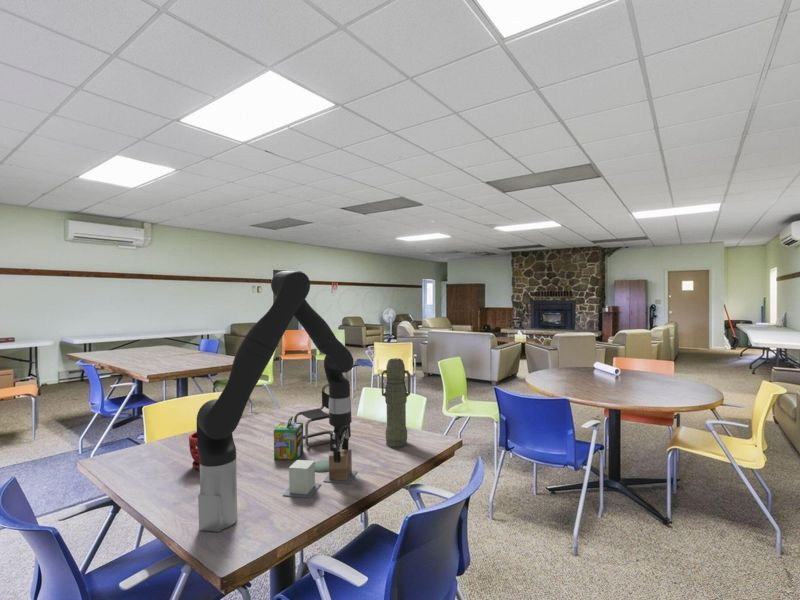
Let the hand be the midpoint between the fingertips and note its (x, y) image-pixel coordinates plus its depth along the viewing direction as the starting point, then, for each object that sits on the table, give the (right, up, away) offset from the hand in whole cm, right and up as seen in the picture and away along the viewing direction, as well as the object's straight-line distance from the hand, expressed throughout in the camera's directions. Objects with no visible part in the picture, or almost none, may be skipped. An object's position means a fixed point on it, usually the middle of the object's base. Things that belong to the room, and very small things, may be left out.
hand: (341, 456), depth 141 cm
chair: (-15, -7, +36) cm, 40 cm away
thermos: (+19, -6, +30) cm, 36 cm away
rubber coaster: (-8, -7, +9) cm, 13 cm away
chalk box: (-23, -7, +20) cm, 31 cm away
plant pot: (-50, -8, +11) cm, 52 cm away
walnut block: (0, -7, 0) cm, 7 cm away
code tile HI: (-11, -7, -9) cm, 16 cm away
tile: (0, -7, 0) cm, 7 cm away
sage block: (-11, -7, -9) cm, 16 cm away
